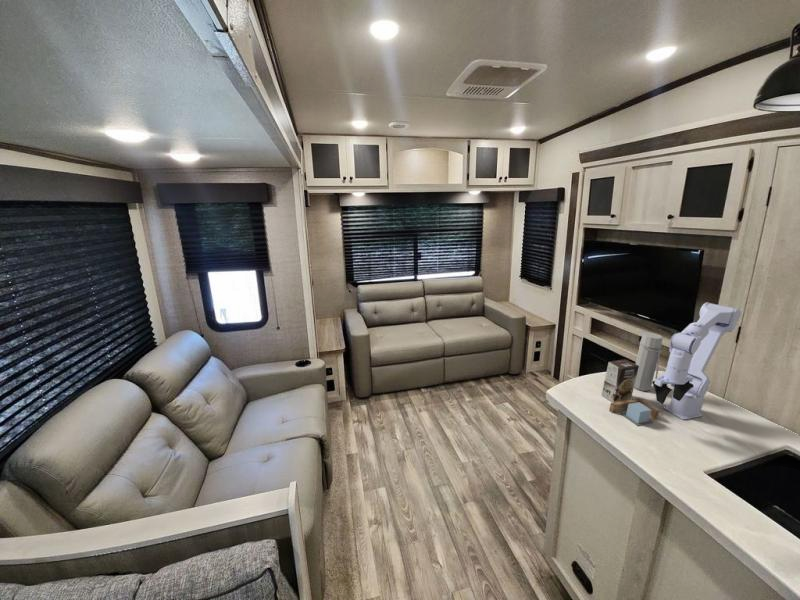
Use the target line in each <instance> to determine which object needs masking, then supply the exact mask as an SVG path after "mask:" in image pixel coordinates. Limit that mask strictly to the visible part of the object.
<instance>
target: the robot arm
mask: <svg viewBox="0 0 800 600" xmlns="http://www.w3.org/2000/svg"><path fill="white" fill-rule="evenodd" d="M699 309H700V310H699V314H698V315H699V319H698V320H697V321H696V322H691V323H689V324H688V325H687V326H686V327H685V328H684V329H683V330H682V331H681V332H678V333H677V332H675V333H674V334H673V335H672V336H671V338H670V340H669V349H668V350H669V353H670V354H669V357H668V361H667V365H666V368H665V370H664V372H661V376H660V377H657V379H654V380H653V383H652V385H653V387H654V388H653V389H654V391H655V399H656V401H657V402H658V403H660V404H661V405H662V404H663V405H664V404H665V402H666V400H667V397H668V396H669V394H670V392H672V391H673V392H672V396H671V399H670V402H669V405H664V406H662V408H663V409H665V410H666V411H668V412H669V413H671V414H672V415H675V416H676V417H678V418H679V419H681V420H688V419H689V420H690V419H695V418H699V417H702V416H703V414H701V411H702V409H703V405H704V400H705V399H704V398H705V397H704V396H705V395H706V394H707V392H708V390H709V385H710V383H711V380H710V378H709V376H708V375H707V373H706V372H705V370H706V369H707V368H708V367H707V366H708V364H709V363H710V361H711V359H712V356H713V355H714V353H715V351H716V349H717V347H718V345H719V343H720V341H721V339H722V337H723V336H724V335H725V334H726V333H731V332H733V331H734V330H735V328H736V326H737V325H738V322H739V321H740V317H741V314H742V311H741V309H740V308H738V307H737V308H735V307H731V306H725V305H721V304H715V303H710V302H708V301H707V302H705V303H703V304H702V305H701V307H700V308H699ZM669 385H670V387H672V388H670V387H669Z"/></svg>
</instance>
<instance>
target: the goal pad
mask: <svg viewBox="0 0 800 600" xmlns="http://www.w3.org/2000/svg"><path fill="white" fill-rule="evenodd" d="M626 413H627V412H623V413H621V414H620V415H621V416H623V417H624V418H625V419H627V420H629V422H631V423H633V424H634V425H635V426H637V427H640V426H646V425H648V424H653V423H654V422H653V421H651V420H650V419H649V421H648V422H643V423H636V422H635V421H634V420H632V419H631V418H629V417H628V416H627V415H626Z"/></svg>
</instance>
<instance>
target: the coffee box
mask: <svg viewBox="0 0 800 600" xmlns="http://www.w3.org/2000/svg"><path fill="white" fill-rule="evenodd" d="M638 368H639V366H638V365H636V363H634V362H632V361H629V360H628V359H626V358H625V359H619V360H612V361H608V363H607V367H606V371H605V372H606V373H605V377H604V382H603V386H602V390H601V396H602V397H603V398H605V399H607V400H608V401H609V402H611V403H613V402H619V401H625V400H631V399H632V397H633V394H634V389H635V388H634V385H635V381H636V376H637V372H638Z"/></svg>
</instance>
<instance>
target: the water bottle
mask: <svg viewBox="0 0 800 600" xmlns="http://www.w3.org/2000/svg"><path fill="white" fill-rule="evenodd" d="M662 345H663V336H662V335H660V334H658V333H654V332H644V333H642V336H641V339H640V342H639V347H638V350H637V356H636V359H635V364H636V365H638V366H639V368H638V372H637V376H636V381H635V385H634V389H635V390H639V391H641V392H644V391H645V392H647V391H650V390H651V388H652V385H653V381H654V380H655V379H658V373H659V364H660V357H661V356H660V354H661V353H662V352H663V351H664V348H663V347H662ZM654 377H655V379H654Z"/></svg>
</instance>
